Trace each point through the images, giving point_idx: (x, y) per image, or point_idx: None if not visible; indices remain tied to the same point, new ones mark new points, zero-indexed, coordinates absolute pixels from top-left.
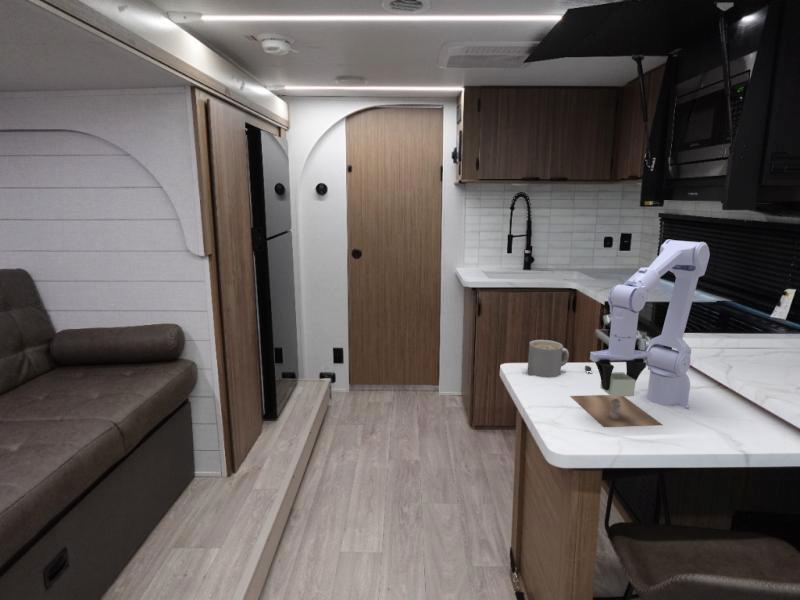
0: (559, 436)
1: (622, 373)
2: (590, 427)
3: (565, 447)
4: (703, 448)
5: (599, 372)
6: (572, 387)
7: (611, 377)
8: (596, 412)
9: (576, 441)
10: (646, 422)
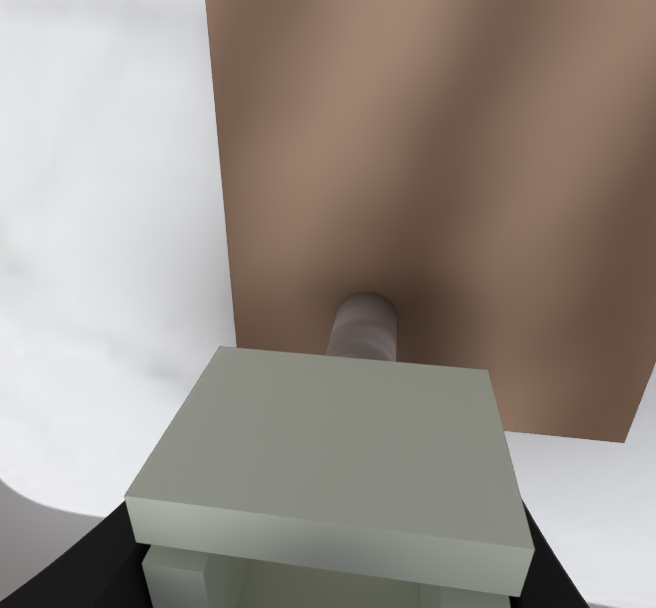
0: (17, 395)
1: (471, 585)
2: (195, 343)
3: (31, 471)
4: (629, 588)
5: (32, 587)
6: None
7: None
8: (289, 218)
9: (85, 443)
10: (543, 400)
